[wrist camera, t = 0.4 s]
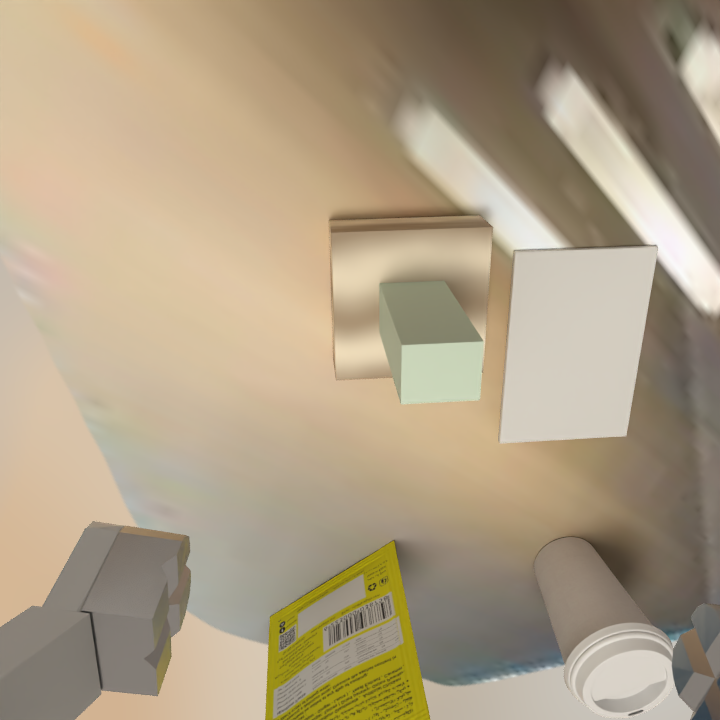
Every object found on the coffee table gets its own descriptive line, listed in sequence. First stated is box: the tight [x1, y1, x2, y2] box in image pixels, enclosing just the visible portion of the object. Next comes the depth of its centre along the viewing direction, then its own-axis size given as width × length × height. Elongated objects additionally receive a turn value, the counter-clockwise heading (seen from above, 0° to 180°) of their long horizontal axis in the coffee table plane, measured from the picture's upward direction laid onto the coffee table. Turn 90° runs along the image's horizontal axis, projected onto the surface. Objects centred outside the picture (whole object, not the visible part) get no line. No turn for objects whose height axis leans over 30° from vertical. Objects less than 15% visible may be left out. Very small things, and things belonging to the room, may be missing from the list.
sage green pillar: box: [379, 281, 484, 404], centre depth 48 cm, size 4×5×12 cm
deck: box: [329, 215, 493, 380], centre depth 55 cm, size 12×12×4 cm
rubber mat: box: [498, 245, 658, 443], centre depth 60 cm, size 18×12×1 cm, turn 1°
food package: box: [265, 541, 430, 720], centre depth 59 cm, size 15×1×20 cm, turn 125°
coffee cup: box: [534, 537, 675, 718], centre depth 63 cm, size 10×10×15 cm
